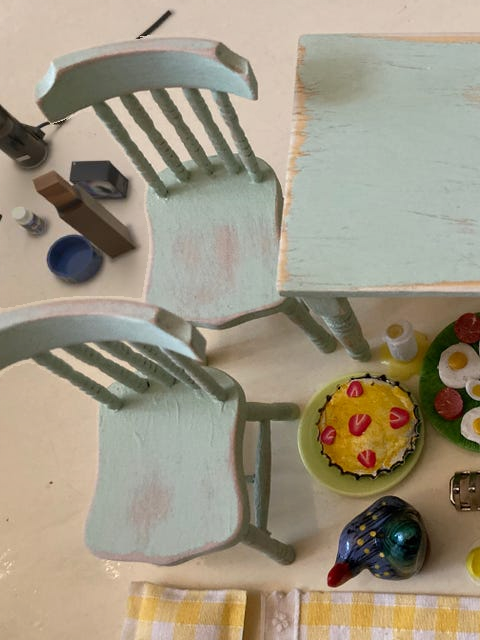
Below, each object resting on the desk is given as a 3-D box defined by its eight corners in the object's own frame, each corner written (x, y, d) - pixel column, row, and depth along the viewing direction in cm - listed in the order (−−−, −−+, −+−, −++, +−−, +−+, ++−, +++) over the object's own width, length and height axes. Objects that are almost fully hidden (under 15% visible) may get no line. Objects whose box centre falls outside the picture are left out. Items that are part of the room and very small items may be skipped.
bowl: (68, 237, 193) (58, 229, 188) (109, 247, 191) (100, 240, 187) (49, 277, 189) (38, 270, 185) (90, 288, 188) (81, 281, 184)
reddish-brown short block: (54, 199, 169) (30, 179, 160) (77, 188, 170) (54, 168, 161) (59, 211, 168) (35, 192, 159) (82, 201, 168) (60, 181, 160)
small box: (89, 200, 196) (67, 181, 186) (92, 180, 198) (70, 160, 187) (126, 199, 196) (106, 180, 185) (129, 179, 197) (109, 158, 187)
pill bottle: (42, 236, 193) (23, 222, 185) (27, 233, 193) (6, 219, 185) (49, 221, 194) (29, 206, 186) (33, 218, 195) (13, 203, 187)
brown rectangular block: (104, 238, 192) (50, 195, 169) (127, 228, 193) (77, 183, 170) (112, 259, 190) (59, 217, 167) (136, 247, 191) (86, 205, 168)
